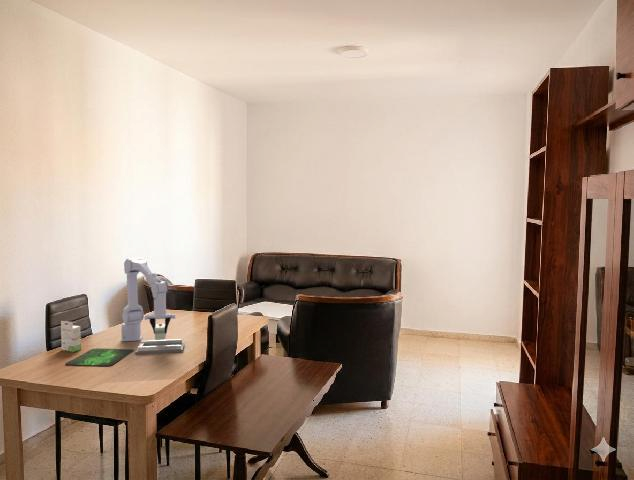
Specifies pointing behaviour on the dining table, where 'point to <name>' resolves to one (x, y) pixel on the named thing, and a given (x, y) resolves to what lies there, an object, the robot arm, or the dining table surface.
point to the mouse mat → (100, 357)
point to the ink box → (70, 336)
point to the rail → (158, 342)
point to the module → (160, 331)
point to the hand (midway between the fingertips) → (160, 333)
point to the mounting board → (160, 350)
